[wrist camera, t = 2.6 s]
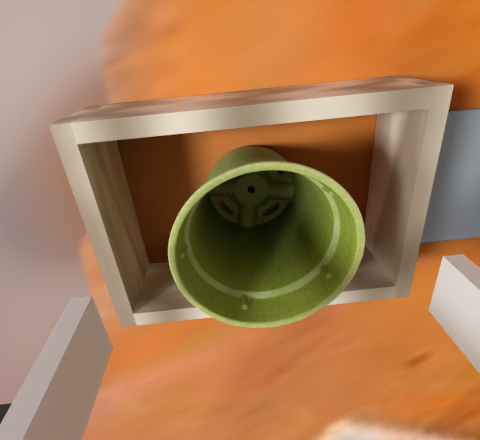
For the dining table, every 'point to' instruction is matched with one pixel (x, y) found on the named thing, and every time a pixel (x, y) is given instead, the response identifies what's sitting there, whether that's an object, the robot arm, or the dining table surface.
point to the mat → (456, 181)
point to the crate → (248, 115)
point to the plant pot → (265, 241)
